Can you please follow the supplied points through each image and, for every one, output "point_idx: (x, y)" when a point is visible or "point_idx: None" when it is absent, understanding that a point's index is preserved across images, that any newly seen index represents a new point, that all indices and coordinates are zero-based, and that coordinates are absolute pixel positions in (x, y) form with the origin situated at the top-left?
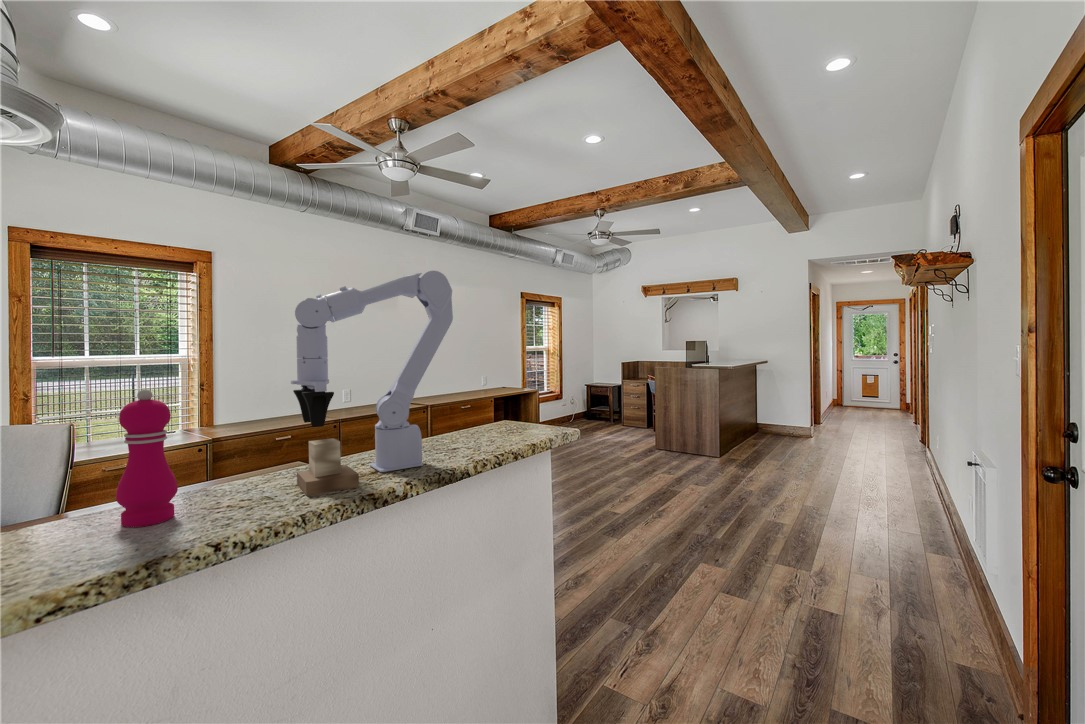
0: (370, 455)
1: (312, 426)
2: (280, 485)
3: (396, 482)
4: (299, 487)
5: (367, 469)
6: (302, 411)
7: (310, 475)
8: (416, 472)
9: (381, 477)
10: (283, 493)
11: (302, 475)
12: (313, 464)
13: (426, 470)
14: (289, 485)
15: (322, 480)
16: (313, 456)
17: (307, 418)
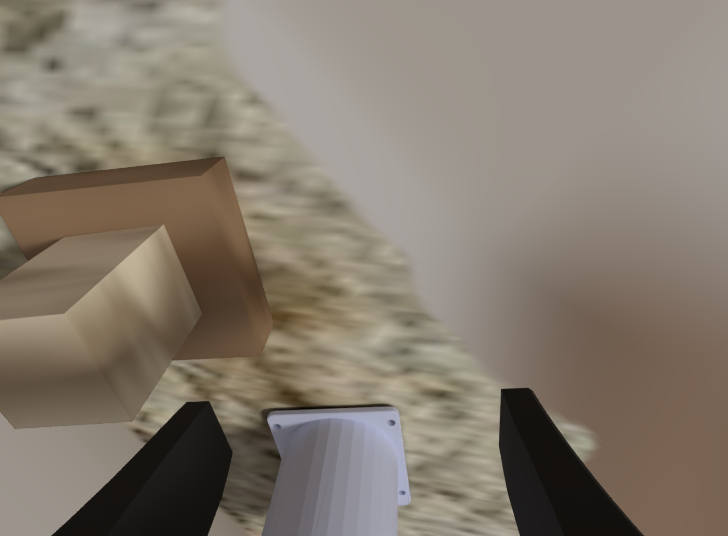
0: (579, 437)
1: (184, 406)
2: (236, 86)
3: (143, 414)
4: (168, 163)
5: (349, 390)
6: (535, 477)
7: (107, 223)
8: (239, 471)
9: (217, 399)
10: (92, 96)
11: (118, 194)
12: (50, 260)
13: (251, 490)
14: (221, 125)
15: (27, 254)
16: (13, 282)
17: (507, 435)
